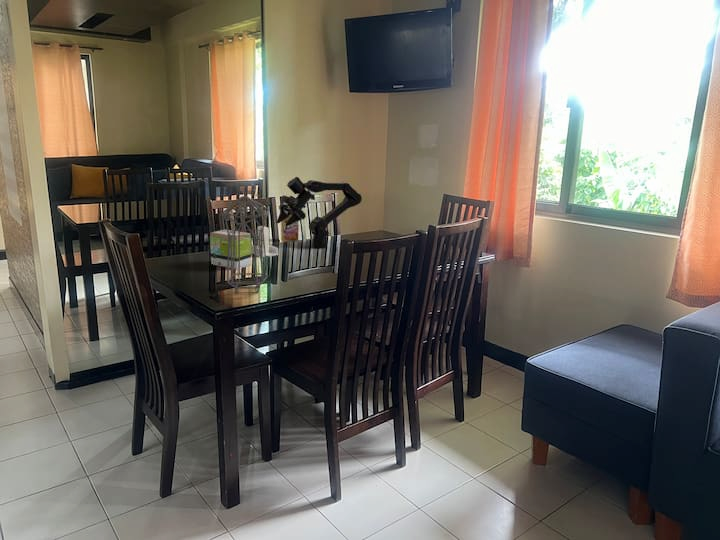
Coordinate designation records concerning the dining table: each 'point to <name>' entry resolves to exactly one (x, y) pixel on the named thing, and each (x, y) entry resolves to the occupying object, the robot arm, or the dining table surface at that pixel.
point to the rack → (272, 252)
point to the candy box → (289, 231)
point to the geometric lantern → (227, 212)
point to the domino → (266, 238)
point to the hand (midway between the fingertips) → (281, 224)
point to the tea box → (221, 249)
